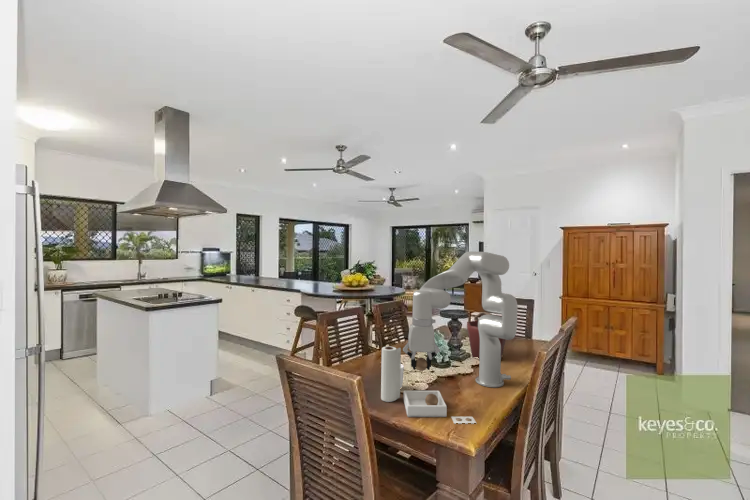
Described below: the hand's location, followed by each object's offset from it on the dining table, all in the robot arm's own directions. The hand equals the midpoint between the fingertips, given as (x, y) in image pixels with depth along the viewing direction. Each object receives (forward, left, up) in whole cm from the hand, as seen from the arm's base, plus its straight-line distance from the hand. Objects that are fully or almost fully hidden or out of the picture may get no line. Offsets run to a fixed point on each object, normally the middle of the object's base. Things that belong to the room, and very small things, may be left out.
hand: (420, 368), depth 145 cm
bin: (-2, 0, -16) cm, 16 cm away
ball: (-5, 0, -13) cm, 14 cm away
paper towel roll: (+11, -8, -16) cm, 21 cm away
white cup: (+8, -20, -16) cm, 27 cm away
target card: (-15, +10, -16) cm, 24 cm away
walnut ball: (0, 0, +2) cm, 2 cm away
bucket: (-49, -67, -16) cm, 84 cm away
